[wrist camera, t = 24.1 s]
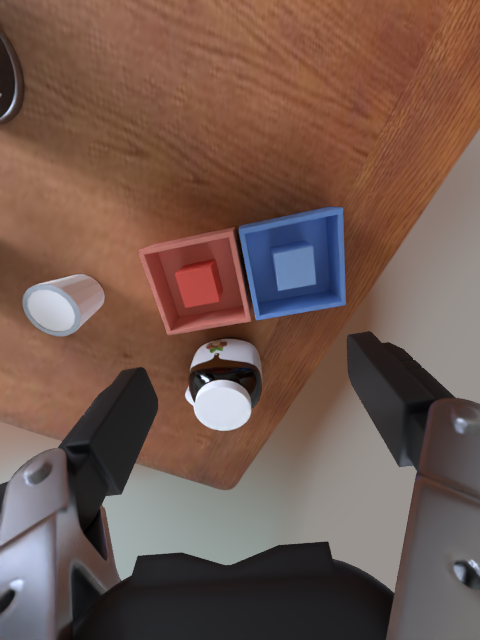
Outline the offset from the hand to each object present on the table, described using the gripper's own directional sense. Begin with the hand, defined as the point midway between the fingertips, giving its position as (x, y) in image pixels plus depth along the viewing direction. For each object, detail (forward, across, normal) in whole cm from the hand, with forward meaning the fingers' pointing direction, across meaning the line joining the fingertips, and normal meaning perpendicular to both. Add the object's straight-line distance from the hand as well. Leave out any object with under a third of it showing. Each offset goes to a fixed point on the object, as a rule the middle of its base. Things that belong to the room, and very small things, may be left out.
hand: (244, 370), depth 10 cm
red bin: (+26, +6, +2) cm, 27 cm away
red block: (+26, +6, +2) cm, 26 cm away
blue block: (+26, -5, +2) cm, 26 cm away
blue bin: (+26, -5, +2) cm, 27 cm away
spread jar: (+26, +7, +17) cm, 32 cm away
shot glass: (+26, +24, +1) cm, 36 cm away
